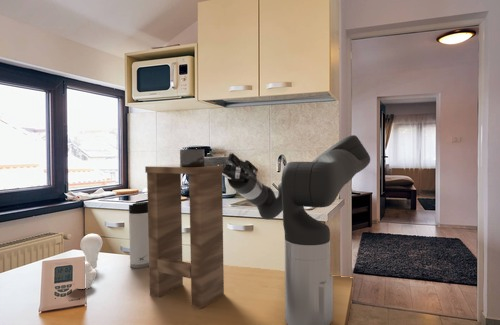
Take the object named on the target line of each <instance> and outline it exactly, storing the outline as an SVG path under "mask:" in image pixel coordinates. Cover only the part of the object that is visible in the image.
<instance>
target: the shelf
mask: <svg viewBox="0 0 500 325" xmlns="http://www.w3.org/2000/svg"><path fill="white" fill-rule="evenodd" d="M144 168H145V173H146V180H147V181H146V184H147V192H146V193H147V202H148V236H149V266H148V270H149V271H148V273H149V275H148V276H149V296H152V297H156V298H161V297H163V296H164V295H167V294H168V293H170V292H172V291H174V290H176V289H177V288H179V287H182V286H183V285H184V283H183V282H184V278H186V279H190V286H191V287H190V290H191V291H190V293H191V294H190V295H191V307H194V308H198V309H200V310H201V309H204V308H206V307H207V306H208V305H211V303H213V302H215V301H216V300H217V299H219V298H220V297H222V296H223V295H225V287H224V286H225V285H224V282H225V281H224V278H225V276H224V219H223V218H224V217H223V216H224V213H223V212H224V211H223V208H224V207H223V175H222V172H223V170H224V165H212V166H204V167H180V164H163V165H148V166H144ZM182 175H188V183H189V185H188V188H189V189H188V190H189V232H190V233H189V238H190V239H189V240H190V244H189V246H190V262H188V261H183V229H182V228H183V225H182V224H183V223H182V222H183V221H182V218H183V217H182Z"/></svg>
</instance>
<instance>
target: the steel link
mask: <svg viewBox="0 0 500 325" xmlns="http://www.w3.org/2000/svg"><path fill="white" fill-rule="evenodd" d="M228 158H229V155H227V156H226V155H225V156H222V155H221V156H213V157H206V156H205V149H179V163H180V164H179V165H180V167H204V166H212V165H223V166H224V164H230V165H231V163H230V162H229V160H228Z"/></svg>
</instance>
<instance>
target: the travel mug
mask: <svg viewBox="0 0 500 325" xmlns="http://www.w3.org/2000/svg"><path fill="white" fill-rule="evenodd" d="M128 222H129V223H128V225H129V226H128V227H129V230H128V231H129V260H130V261H129V264H130V268H133V269H143V268H146V267H149V236H148V201H141V202H136V203H135V202H134V203H132V204H129V205H128Z"/></svg>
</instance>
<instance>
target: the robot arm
mask: <svg viewBox="0 0 500 325" xmlns="http://www.w3.org/2000/svg"><path fill="white" fill-rule="evenodd" d="M228 156H229V158H228V160H229V162H230V163H231V164H224V165H223V172H222V177H224V178H226V179H227V182H228V185H229V186H230V188H232V189H233V190H234V191H236V193H238V194H239V195H240V196H241V197H243V198H245V200H246V201H248V202H249V203H251V204H252V205H256V208H257V210H258V213H259V215H260V217H261V218H262V219H264V220H272V219H274V218H276V217H279V215H280V214H281V213H282V225H283V230H284V306H285V307H284V315H285V316H284V317H285V318H284V319H285V323H286V324H287V325H331V324H332V322H333V321H334V275H333V274H331V232H330V230H331V229H330V227H329V225H327V224H326V223H323V222H322V221H320V220H318V219H316V218H314V217H312V216H311V215H310V214H308V212H307V211H306V210H305V208H306V207H307V208H327V207H330V206H332V204H333V203H334V202H335V200H336V199H337V198H338V195H339V194H340V192H341V190H342V189H343V188H344V186H346V184H348V183H349V182H350V181H351V180H352V179H353V178H354V176H356V174H358V173H360V172H361V171H363V170H364V169H366V167H368V166H369V164H370V163H371V157H370V154H369V152H368V151H367V149H366V148H365V146H364V144H363V143H362V142H361V140H360V139H359V137H358V136H357V135H354V134H353V135H349V136H346V137H344V138H343V139H341V140H339V141H338V142H336V143H335V144H333V145H332V146H331V147H329V148H328V149H327V150H325V151H324V152H322V153H321V154H320V155H318V156H317V157H316V158H315V159H313V160H312V161H290V162H288V163H286V164H285V166H284V167H283V170H282V174H281V181H280V183H279V184H278V186H277V189H278V196H277V197H276V194H275V192H274V190H273V189H272V188H271V187H270V186H267V185H266V184H265V185H264V183H263V182H262V181H261V180H260V178H259V177H258V172H259V170H258V169H259V168H257V167H256V166H255V165H254V164H253V163H252V162H250V160H247V159H245V161H244V160H243V159H241V158H239V157H238V156H237V155H235V154H234V152H233V153H232V152H230V153H229V155H228ZM205 157H214V156H213V154H212V153H210V152H209V153H206V156H205Z"/></svg>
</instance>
